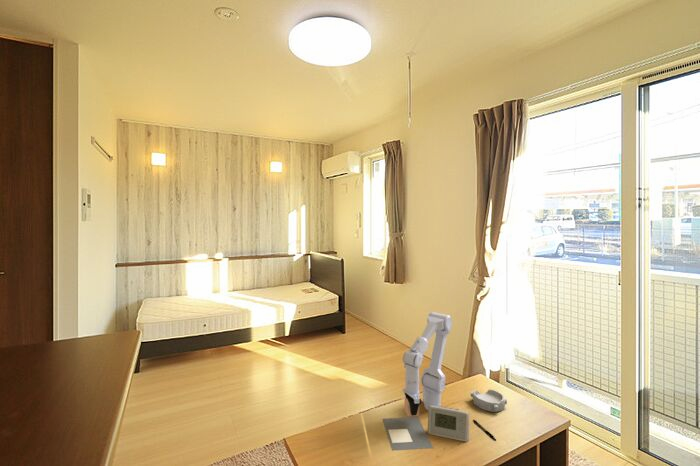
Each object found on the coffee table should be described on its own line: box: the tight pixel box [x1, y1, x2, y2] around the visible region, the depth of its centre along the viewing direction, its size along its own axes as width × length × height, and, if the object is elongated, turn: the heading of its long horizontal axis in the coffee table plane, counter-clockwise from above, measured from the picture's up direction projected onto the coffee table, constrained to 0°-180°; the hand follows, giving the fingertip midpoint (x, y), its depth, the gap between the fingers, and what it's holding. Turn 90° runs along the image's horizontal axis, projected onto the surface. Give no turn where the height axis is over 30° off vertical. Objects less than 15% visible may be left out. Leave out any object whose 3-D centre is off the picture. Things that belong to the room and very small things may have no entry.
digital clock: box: [427, 405, 470, 443], centre depth 134 cm, size 16×9×11 cm, turn 59°
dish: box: [469, 388, 508, 413], centre depth 157 cm, size 14×14×5 cm
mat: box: [382, 416, 434, 451], centre depth 135 cm, size 20×16×1 cm
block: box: [404, 397, 420, 417], centre depth 141 cm, size 5×5×5 cm
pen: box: [472, 419, 497, 441], centre depth 138 cm, size 14×2×1 cm, turn 16°
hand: (411, 410), depth 141 cm, fingers closed on block, 5 cm apart
